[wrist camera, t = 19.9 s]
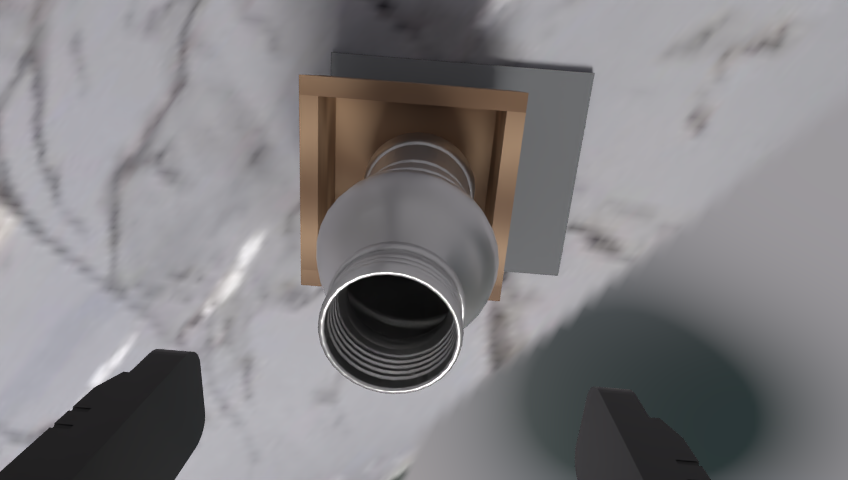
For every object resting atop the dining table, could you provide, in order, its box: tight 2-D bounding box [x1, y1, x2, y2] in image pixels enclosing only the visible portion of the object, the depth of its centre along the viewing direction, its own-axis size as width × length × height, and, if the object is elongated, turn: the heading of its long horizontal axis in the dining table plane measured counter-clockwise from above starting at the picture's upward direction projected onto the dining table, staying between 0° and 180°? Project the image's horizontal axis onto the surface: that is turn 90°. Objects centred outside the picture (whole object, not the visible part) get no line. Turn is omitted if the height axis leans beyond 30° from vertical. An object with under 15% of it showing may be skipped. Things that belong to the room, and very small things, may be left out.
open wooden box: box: [299, 75, 529, 301], centre depth 30 cm, size 12×12×8 cm
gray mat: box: [331, 52, 594, 276], centre depth 35 cm, size 15×18×1 cm
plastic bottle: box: [316, 132, 499, 394], centre depth 21 cm, size 6×7×20 cm
